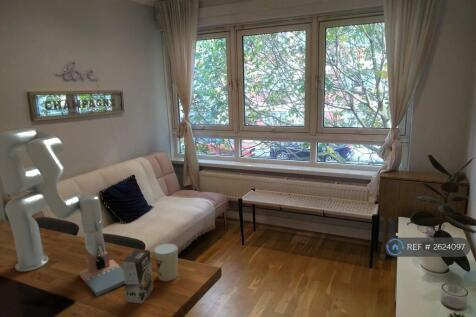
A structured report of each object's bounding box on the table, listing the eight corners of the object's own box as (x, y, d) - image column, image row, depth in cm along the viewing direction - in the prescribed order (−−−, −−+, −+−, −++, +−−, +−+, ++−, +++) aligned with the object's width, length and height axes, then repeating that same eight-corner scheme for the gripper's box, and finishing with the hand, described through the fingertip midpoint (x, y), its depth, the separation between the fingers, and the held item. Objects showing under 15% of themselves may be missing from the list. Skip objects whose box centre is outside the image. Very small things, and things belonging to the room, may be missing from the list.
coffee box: (142, 303, 116) (138, 262, 113) (126, 302, 118) (121, 261, 114) (154, 288, 125) (150, 249, 122) (138, 287, 126) (134, 248, 123)
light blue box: (85, 283, 130) (85, 279, 130) (120, 269, 139) (119, 265, 139) (96, 296, 121) (96, 292, 121) (132, 280, 131) (132, 276, 130)
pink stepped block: (79, 275, 136) (76, 258, 134) (112, 262, 145) (110, 246, 143) (85, 282, 130) (82, 265, 129) (119, 268, 140) (117, 252, 138)
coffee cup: (154, 272, 136) (151, 246, 133) (176, 267, 139) (174, 241, 137) (158, 284, 128) (155, 256, 125) (182, 278, 131) (179, 250, 128)
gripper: (76, 222, 137) (82, 261, 141) (90, 234, 125) (96, 277, 129) (94, 217, 142) (100, 255, 146) (110, 228, 130) (115, 270, 134)
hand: (98, 265), depth 137 cm, fingers open, 5 cm apart
